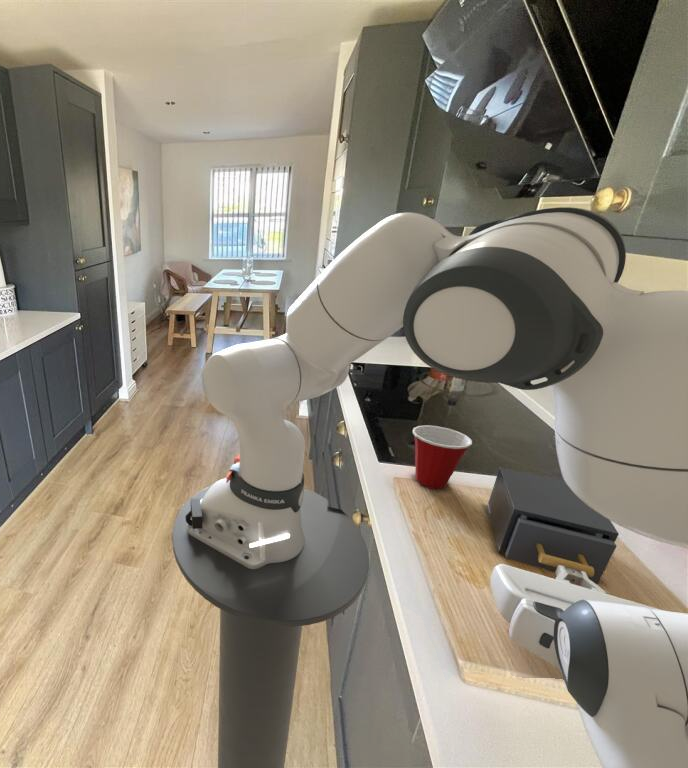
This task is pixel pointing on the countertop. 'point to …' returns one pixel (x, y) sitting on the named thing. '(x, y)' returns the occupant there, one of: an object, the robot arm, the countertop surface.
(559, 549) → the drawer
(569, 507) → the cabinet
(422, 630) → the countertop surface
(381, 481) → the countertop surface
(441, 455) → the plastic cup
